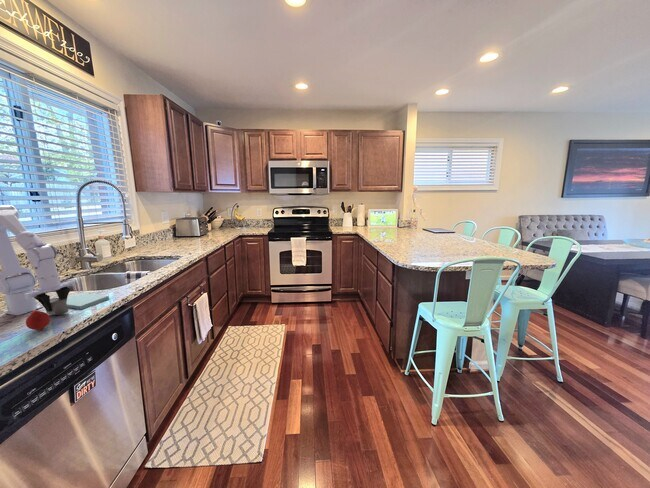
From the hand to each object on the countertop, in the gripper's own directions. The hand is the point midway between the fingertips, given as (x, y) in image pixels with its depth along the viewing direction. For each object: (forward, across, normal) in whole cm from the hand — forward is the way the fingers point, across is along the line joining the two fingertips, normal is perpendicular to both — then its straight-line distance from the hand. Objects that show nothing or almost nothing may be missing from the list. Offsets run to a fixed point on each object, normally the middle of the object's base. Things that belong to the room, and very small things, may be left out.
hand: (56, 308), depth 105 cm
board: (+3, +11, +5) cm, 12 cm away
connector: (+1, 0, +1) cm, 2 cm away
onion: (+3, -10, -10) cm, 14 cm away
